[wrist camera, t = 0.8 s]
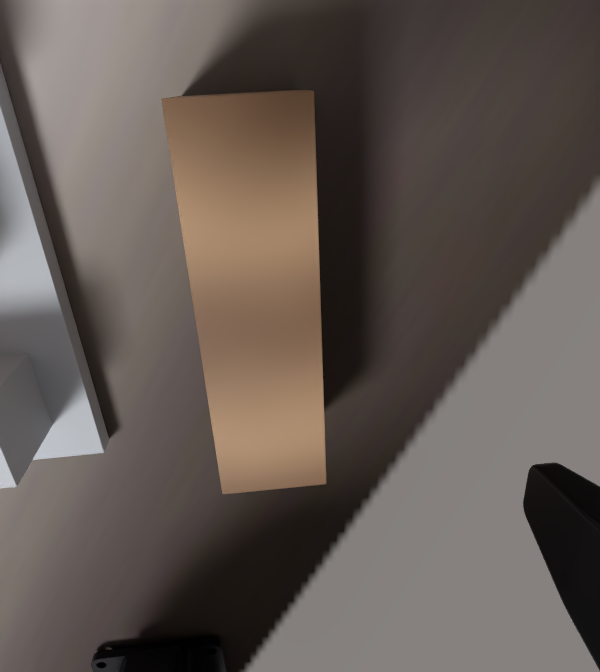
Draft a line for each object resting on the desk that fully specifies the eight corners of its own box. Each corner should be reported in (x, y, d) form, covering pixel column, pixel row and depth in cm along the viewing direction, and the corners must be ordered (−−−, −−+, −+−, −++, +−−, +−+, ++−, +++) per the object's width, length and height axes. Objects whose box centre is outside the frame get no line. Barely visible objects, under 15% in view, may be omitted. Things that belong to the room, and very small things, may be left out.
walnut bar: (313, 415, 21) (326, 483, 17) (227, 423, 20) (222, 494, 17) (299, 89, 15) (313, 90, 12) (182, 95, 15) (161, 98, 11)
